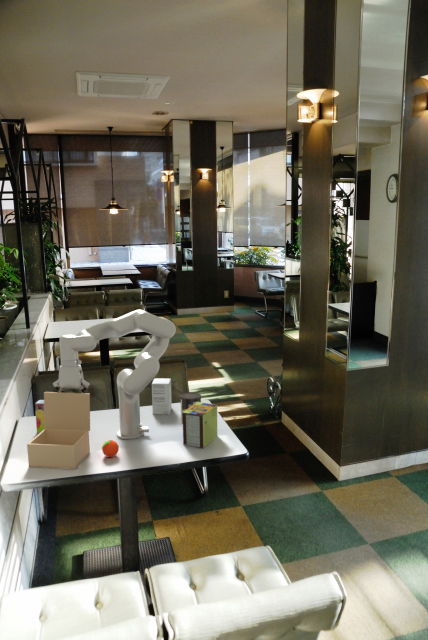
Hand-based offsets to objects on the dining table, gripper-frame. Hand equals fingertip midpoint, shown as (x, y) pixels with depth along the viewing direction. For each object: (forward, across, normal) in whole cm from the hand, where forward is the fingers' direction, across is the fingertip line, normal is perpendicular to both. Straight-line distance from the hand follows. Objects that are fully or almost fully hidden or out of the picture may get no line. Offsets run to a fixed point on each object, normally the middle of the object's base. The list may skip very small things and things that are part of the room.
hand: (72, 400), depth 227 cm
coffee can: (+21, -48, -31) cm, 61 cm away
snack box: (+21, +13, -13) cm, 28 cm away
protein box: (+21, -56, -10) cm, 61 cm away
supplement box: (+21, -30, -45) cm, 58 cm away
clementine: (+21, -20, +11) cm, 31 cm away
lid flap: (+3, 0, +7) cm, 7 cm away
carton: (+21, 0, +16) cm, 26 cm away
